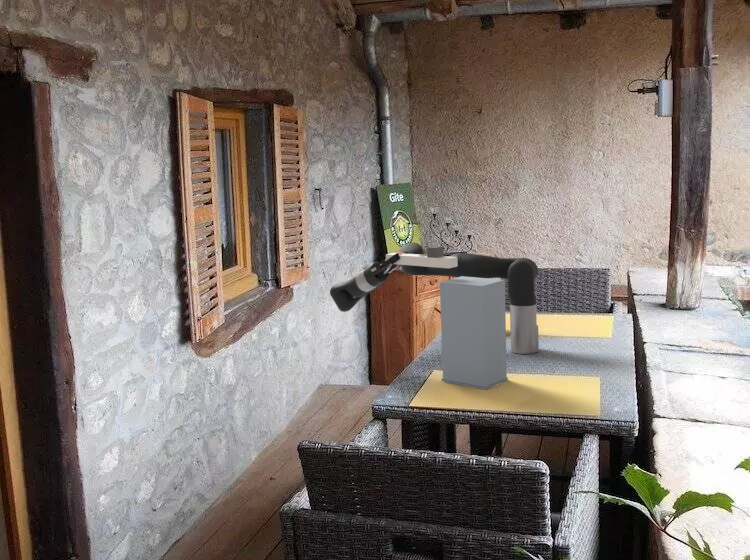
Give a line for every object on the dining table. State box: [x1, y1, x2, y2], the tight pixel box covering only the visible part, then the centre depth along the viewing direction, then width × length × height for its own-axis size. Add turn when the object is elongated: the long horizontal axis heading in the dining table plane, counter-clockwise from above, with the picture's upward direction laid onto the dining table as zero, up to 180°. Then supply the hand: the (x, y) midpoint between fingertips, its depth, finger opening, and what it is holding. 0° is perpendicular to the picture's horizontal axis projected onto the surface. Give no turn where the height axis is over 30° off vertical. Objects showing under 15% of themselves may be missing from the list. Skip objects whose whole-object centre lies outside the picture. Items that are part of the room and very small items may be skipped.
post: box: [439, 276, 509, 391], centre depth 241 cm, size 17×13×32 cm
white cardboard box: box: [385, 245, 458, 268], centre depth 251 cm, size 26×4×6 cm, turn 49°
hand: (403, 255), depth 255 cm, fingers closed on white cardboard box, 4 cm apart
